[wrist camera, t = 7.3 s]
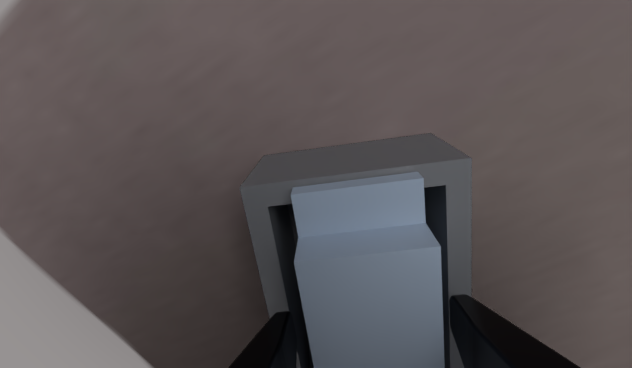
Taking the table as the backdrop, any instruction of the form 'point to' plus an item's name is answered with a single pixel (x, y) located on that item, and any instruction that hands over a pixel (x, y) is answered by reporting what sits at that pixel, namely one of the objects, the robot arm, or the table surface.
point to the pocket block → (350, 164)
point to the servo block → (369, 273)
